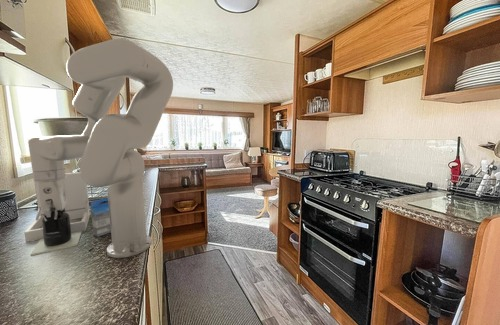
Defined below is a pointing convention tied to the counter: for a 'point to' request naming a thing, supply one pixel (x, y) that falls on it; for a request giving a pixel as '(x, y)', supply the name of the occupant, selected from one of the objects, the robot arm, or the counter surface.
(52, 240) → the supplement bottle
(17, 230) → the counter surface
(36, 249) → the mat
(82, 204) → the white open box
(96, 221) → the label tape box
